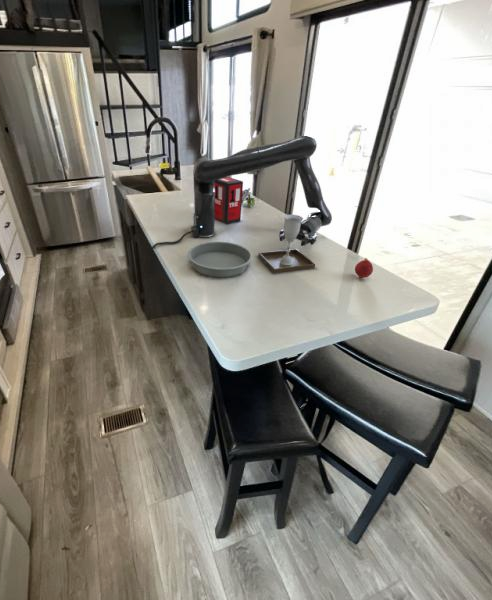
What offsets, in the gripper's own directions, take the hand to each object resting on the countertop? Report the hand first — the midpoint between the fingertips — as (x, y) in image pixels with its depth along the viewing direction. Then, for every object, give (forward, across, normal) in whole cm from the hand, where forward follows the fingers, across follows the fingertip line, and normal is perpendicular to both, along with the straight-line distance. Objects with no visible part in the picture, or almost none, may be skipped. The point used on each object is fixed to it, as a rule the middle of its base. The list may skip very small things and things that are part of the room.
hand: (291, 241), depth 122 cm
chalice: (+2, 0, +8) cm, 9 cm away
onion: (-3, +27, +9) cm, 29 cm away
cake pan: (+19, -21, +9) cm, 29 cm away
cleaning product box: (-29, -49, +9) cm, 57 cm away
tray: (+2, 0, +8) cm, 9 cm away
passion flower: (-57, -51, +9) cm, 77 cm away
